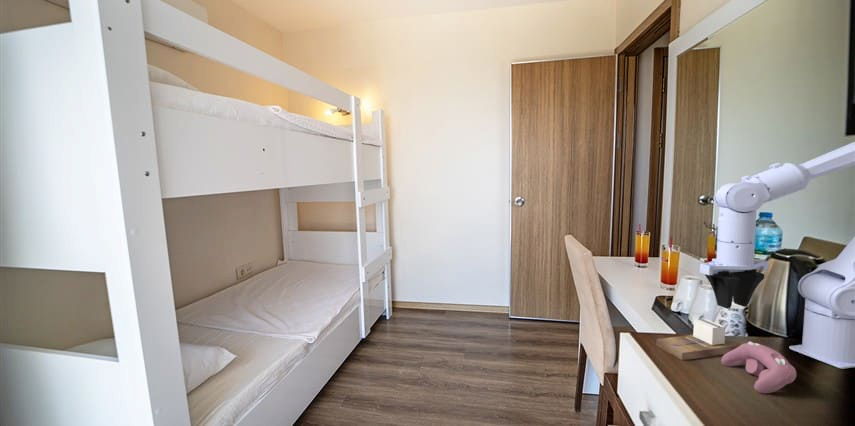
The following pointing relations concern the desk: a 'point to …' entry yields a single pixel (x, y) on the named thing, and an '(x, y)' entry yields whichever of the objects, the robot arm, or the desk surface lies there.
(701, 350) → the fader board
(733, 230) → the robot arm
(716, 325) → the fader tab
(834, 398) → the desk surface
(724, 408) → the desk surface
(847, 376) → the desk surface
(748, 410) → the desk surface
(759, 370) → the video game controller
